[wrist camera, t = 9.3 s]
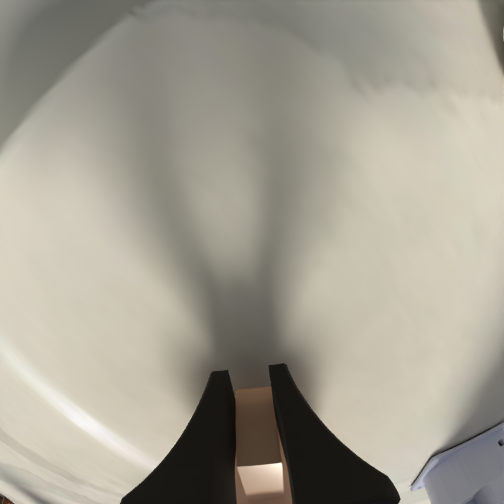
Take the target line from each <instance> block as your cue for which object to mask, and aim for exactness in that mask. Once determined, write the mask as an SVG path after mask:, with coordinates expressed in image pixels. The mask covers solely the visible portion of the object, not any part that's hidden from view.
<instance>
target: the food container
mask: <svg viewBox="0 0 504 504" xmlns="http://www.w3.org/2000/svg"><path fill="white" fill-rule="evenodd" d="M0 504H14V503H13V502H11V501H10V500H9V499H8V498H6V497H5V496H2V495H0Z"/></svg>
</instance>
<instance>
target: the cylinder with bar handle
mask: <svg viewBox="0 0 504 504" xmlns="http://www.w3.org/2000/svg"><path fill="white" fill-rule="evenodd" d="M235 400H236V459H235V484H236V499H237V504H292V497H291V490H290V483H289V475H288V469H287V464H286V460H285V456H284V452H283V448H282V444H281V440H280V436H279V431H278V427H277V422H276V417H275V411H274V404H273V396H272V388H271V386H269V387H259V388H249V389H238V390H235Z"/></svg>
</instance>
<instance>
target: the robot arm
mask: <svg viewBox="0 0 504 504" xmlns="http://www.w3.org/2000/svg"><path fill="white" fill-rule="evenodd" d="M269 373H270V381H271V388H272V396H273V404H274V411H275V417H276V422H277V427H278V431H279V436H280V440H281V444H282V448H283V452H284V456H285V460H286V464H287V469H288V475H289V483H290V490H291V497H292V504H398V503H399V501H400V496H399V493H398V491H397V489H396V488H395V486H394V484H393V483H392V481H391V480H390V479H389V477H388V476H387V475H385V474H383V473H382V472H380V471H378V470H377V469H375V468H374V467H372V466H371V465H369V464H368V463H367V462H365V461H364V460H362V459H361V458H360V457H358V456H357V455H356V454H355V453H354V452H352V451H351V450H350V449H349V448H348V447H347V446H345V445H344V444H343V443H342V442H341V441H340V440H339V439H338V438H337V437H336V436H335V435H334V434H333V433H332V432H331V431H330V430H329V429H328V428H327V427H326V426H325V425H324V424H323V422H322V421H321V420H320V419H319V418H318V416H317V415H316V414H315V413H314V411H313V410H312V409H311V407H310V406H309V405H308V403H307V402H306V400H305V399H304V397H303V396H302V394H301V393H300V391H299V389H298V388H297V386H296V384H295V382H294V381H293V379H292V377H291V374H290V372H289V370H288V367H287V365H286V364H284V363H283V364H276V365H269ZM235 459H236V400H235V396H234V392H233V389H232V385H231V381H230V377H229V373H228V370H225V371H214V372H212V373H211V374H210V377H209V380H208V383H207V386H206V388H205V391H204V393H203V395H202V398H201V400H200V402H199V404H198V406H197V408H196V410H195V412H194V414H193V416H192V418H191V420H190V421H189V423H188V425H187V427H186V429H185V430H184V432H183V433H182V435H181V437H180V438H179V440H178V441H177V442H176V444H175V445H174V447H173V448H172V449H171V451H170V452H169V453H168V454H167V456H166V457H165V458H164V459H163V461H162V462H161V463H160V464H159V465H158V466H157V467H156V468H155V469H154V470H153V471H152V472H151V473H150V474H149V475H148V477H147V478H146V479H145V480H143V481H142V482H141V483H140V484H139V485H138V486H137V487H135V488H134V489H133V490H132V491H131V492H129V493H128V494H127V495H126V496H124V497H123V498H122V500H121V503H120V504H237V499H236V484H235ZM423 487H425V489H426V491H427V494H428V496H429V499H430V502H431V504H504V422H503V423H501V424H500V425H498V426H496V427H494V428H492V429H491V430H489V431H487V432H485V433H483V434H481V435H479V436H477V437H475V438H473V439H471V440H469V441H467V442H465V443H463V444H461V445H459V446H457V447H454V448H452V449H450V450H448V451H445V452H443V453H441V454H438V455H436V456H434V457H432V458H431V459H430V461H429V462H428V464H427V465H426V467H425V468H424V470H423V471H422V473H421V474H420V476H419V477H418V478H417V480H416V481H415V483H414V484H413V485H412V487H411V488H410V490H411V491H415V490H418V489H420V488H423Z"/></svg>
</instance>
